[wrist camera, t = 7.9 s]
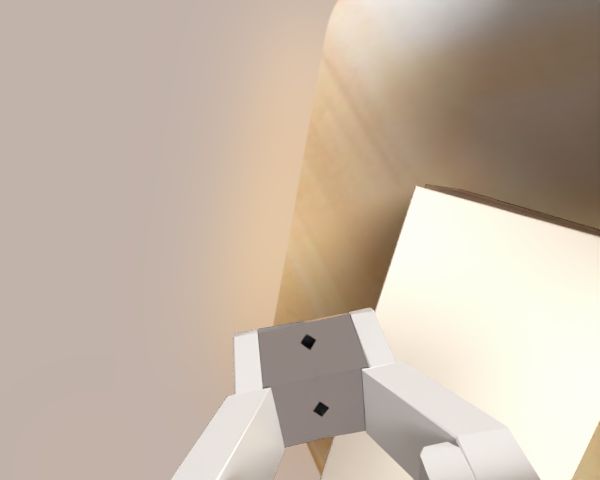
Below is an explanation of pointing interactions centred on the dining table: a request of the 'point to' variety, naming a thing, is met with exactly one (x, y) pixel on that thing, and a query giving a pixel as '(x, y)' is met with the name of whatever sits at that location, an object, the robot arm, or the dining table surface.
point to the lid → (492, 328)
